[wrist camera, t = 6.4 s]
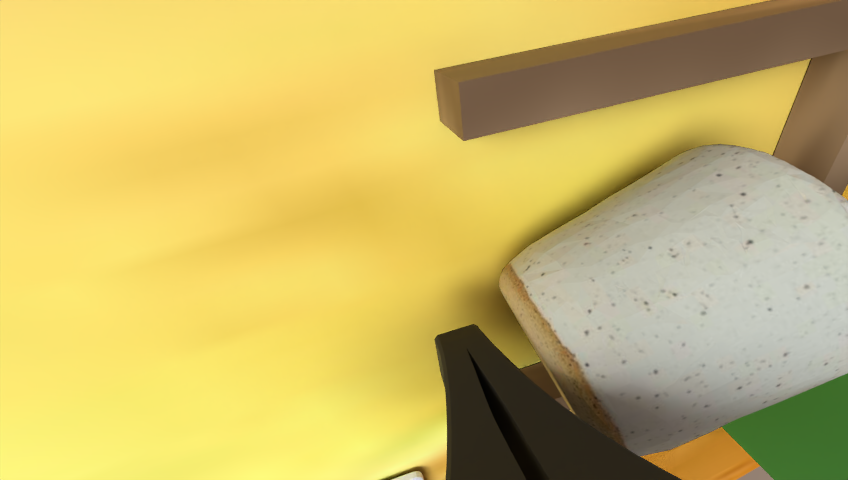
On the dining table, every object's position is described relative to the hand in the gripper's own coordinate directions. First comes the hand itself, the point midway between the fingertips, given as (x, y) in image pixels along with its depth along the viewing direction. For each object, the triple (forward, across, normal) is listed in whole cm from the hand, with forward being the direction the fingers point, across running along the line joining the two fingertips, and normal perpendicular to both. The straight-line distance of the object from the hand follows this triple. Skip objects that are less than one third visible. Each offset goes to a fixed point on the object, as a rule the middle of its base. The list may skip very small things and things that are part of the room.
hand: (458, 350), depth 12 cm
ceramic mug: (+3, -7, +1) cm, 8 cm away
